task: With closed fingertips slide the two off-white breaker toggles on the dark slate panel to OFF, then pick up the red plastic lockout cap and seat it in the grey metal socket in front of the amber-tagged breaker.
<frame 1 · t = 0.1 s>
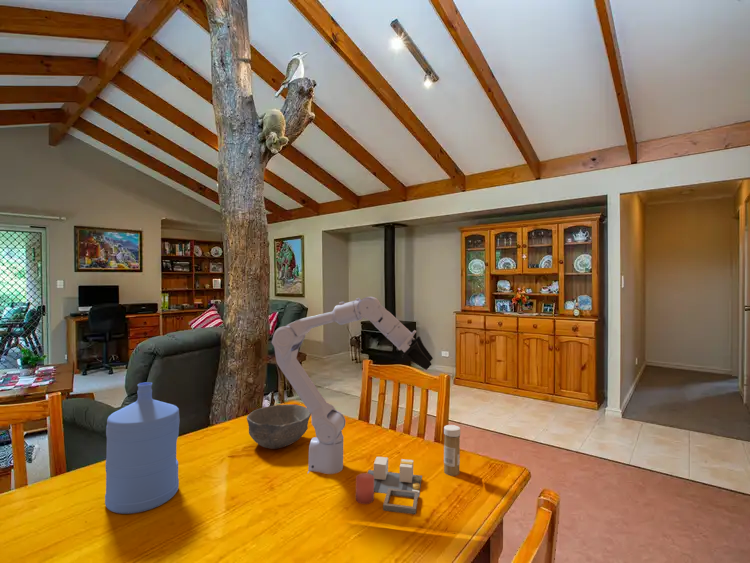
hand: (429, 364, 107), 32 cm above the table, tool tilted 50°, fingers open, 7 cm apart
lockout cap: (364, 502, 96), on the table
water jug: (143, 497, 97), on the table
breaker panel: (392, 485, 104), on the table
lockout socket: (401, 506, 95), on the table
bowl: (279, 444, 130), on the table
toggle B: (406, 470, 106), point 3 cm above the table, slide at 0.0 cm
toggle A: (381, 467, 107), point 3 cm above the table, slide at 0.0 cm
sprinkles bottle: (451, 475, 111), on the table
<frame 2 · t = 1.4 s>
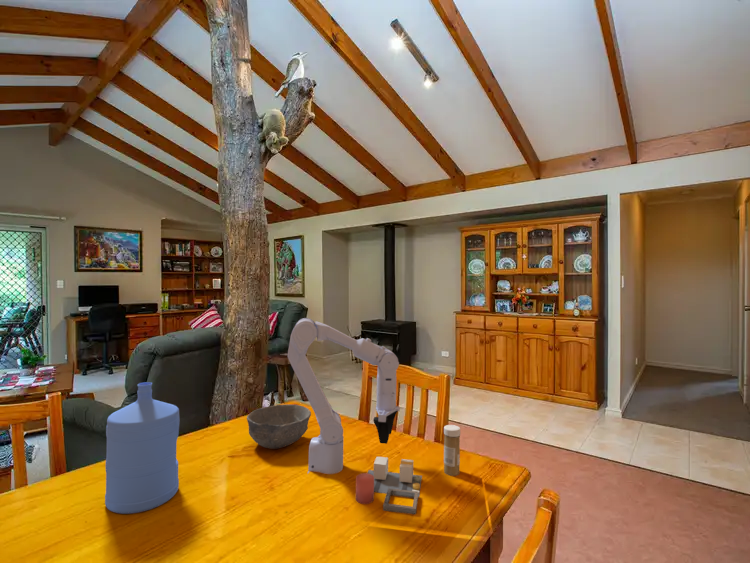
hand: (385, 438, 115), 8 cm above the table, tool pointing down, fingers open, 6 cm apart
nothing on the table moved.
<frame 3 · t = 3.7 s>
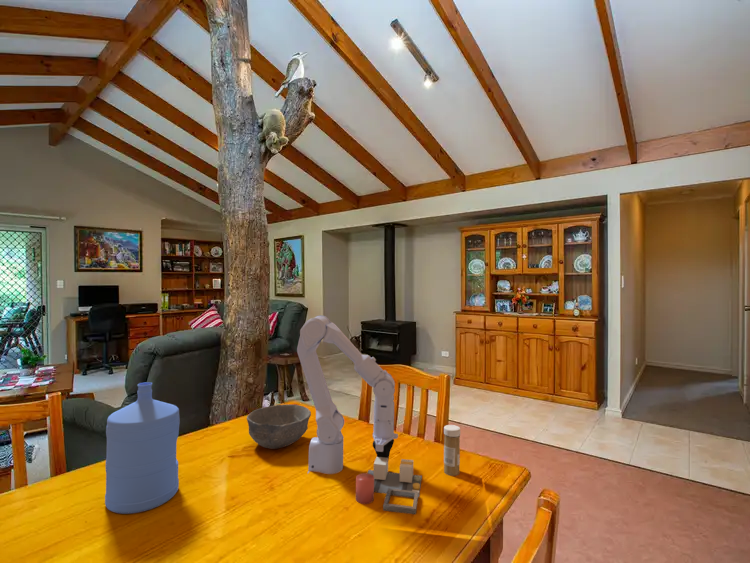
hand: (383, 466, 111), 2 cm above the table, tool pointing down, fingers closed
toggle A: (380, 468, 107), point 3 cm above the table, slide at 0.1 cm, touching gripper
everything else where it was.
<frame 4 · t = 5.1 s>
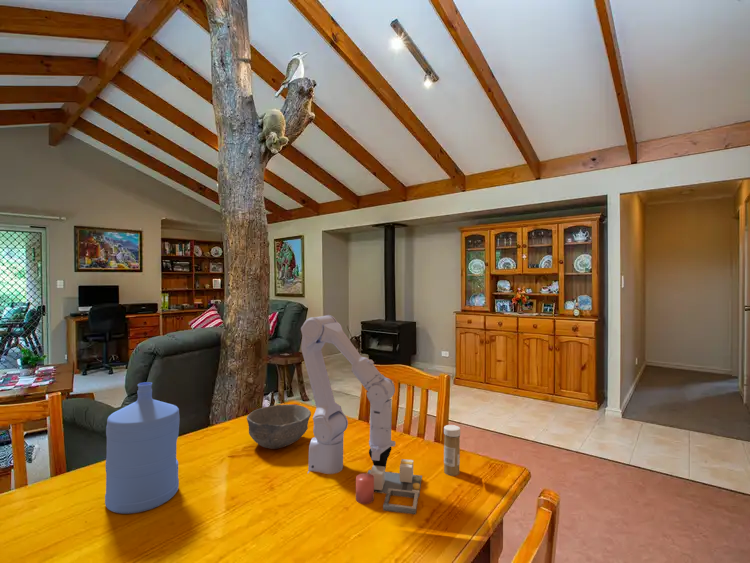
hand: (379, 475, 106), 2 cm above the table, tool pointing down, fingers closed
toggle A: (377, 477, 102), point 3 cm above the table, slide at 5.4 cm, touching gripper
everything else where it was.
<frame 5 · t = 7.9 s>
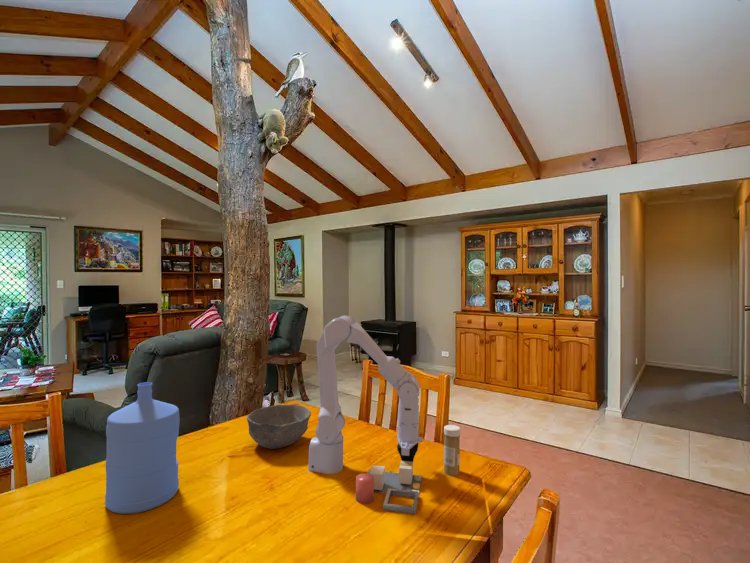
hand: (407, 470, 109), 2 cm above the table, tool pointing down, fingers closed
toggle B: (406, 471, 105), point 3 cm above the table, slide at 0.9 cm, touching gripper
toggle A: (377, 477, 102), point 3 cm above the table, slide at 5.4 cm
everything else where it was.
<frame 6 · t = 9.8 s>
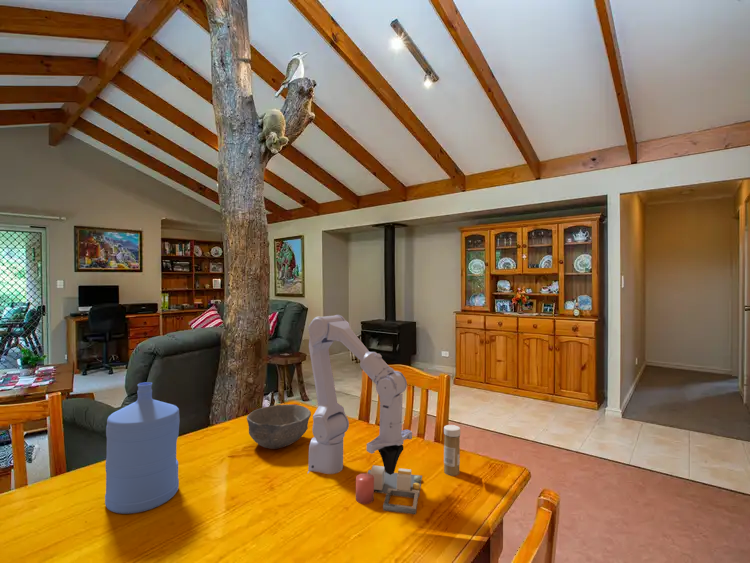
hand: (389, 472, 101), 5 cm above the table, tool pointing down, fingers closed
toggle B: (404, 480, 100), point 3 cm above the table, slide at 5.5 cm
everything else where it was.
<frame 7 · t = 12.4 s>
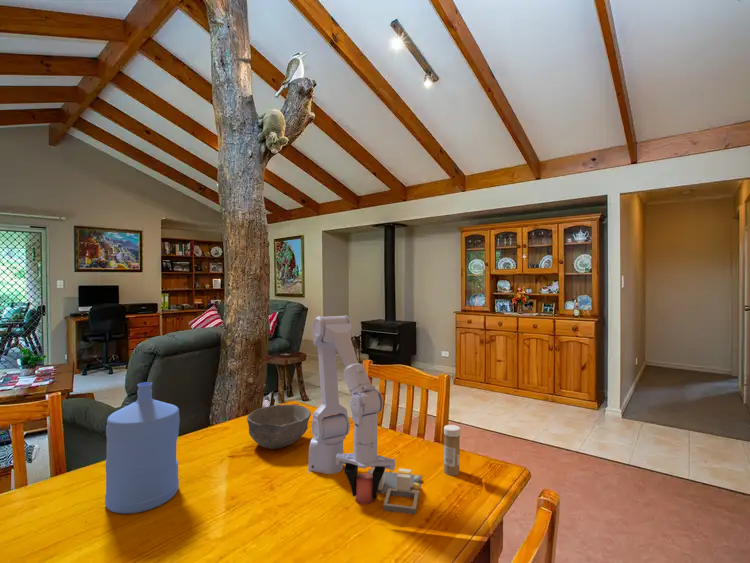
hand: (364, 495, 96), 2 cm above the table, tool pointing down, fingers closed on lockout cap, 4 cm apart
lockout cap: (364, 502, 96), on the table, touching gripper
everything else where it was.
when the fingers open (3 cm above the table, at t = 15.3 s): lockout cap drops 1 cm, resting in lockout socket.
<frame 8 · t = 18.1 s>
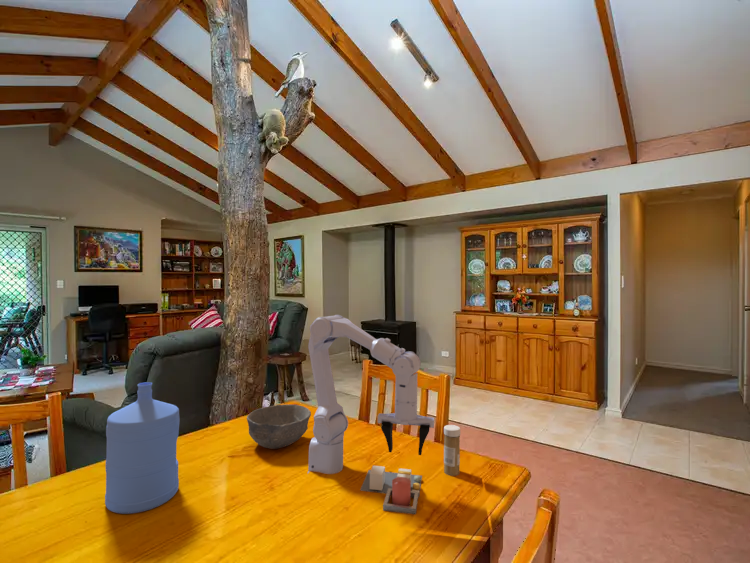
hand: (405, 452, 102), 10 cm above the table, tool pointing down, fingers open, 7 cm apart
lockout cap: (401, 506, 94), resting in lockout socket
everything else where it was.
at the end: toggle A slide at 5.4 cm; toggle B slide at 5.5 cm; lockout cap 0.1 cm off-centre on the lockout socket, point 0.0 cm above the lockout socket's base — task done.
